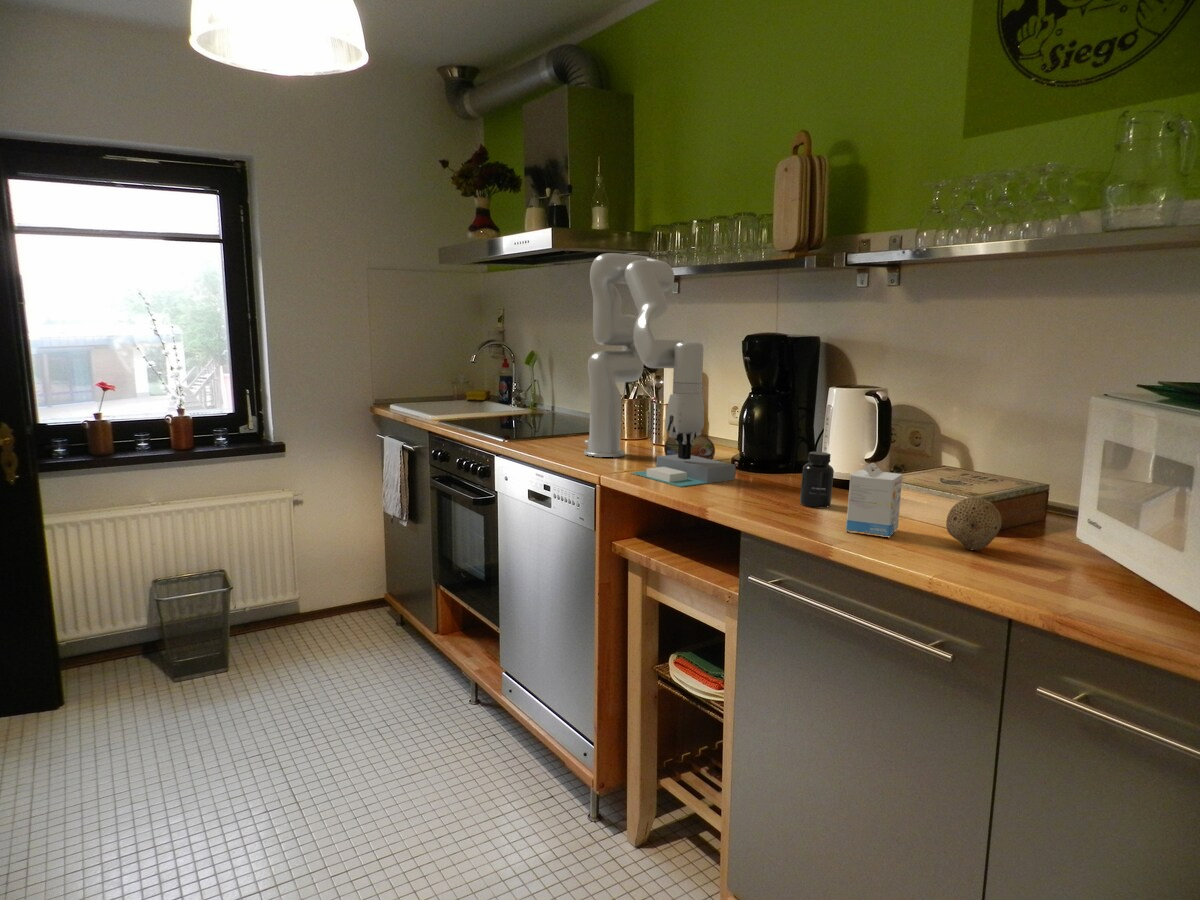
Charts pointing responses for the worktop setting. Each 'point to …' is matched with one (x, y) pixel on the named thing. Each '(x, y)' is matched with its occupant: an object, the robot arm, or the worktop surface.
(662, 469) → the white rectangular block
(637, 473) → the mat
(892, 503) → the ink box
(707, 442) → the tin
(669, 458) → the grey flat block
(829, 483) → the supplement bottle
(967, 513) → the natural sponge
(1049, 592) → the worktop surface
